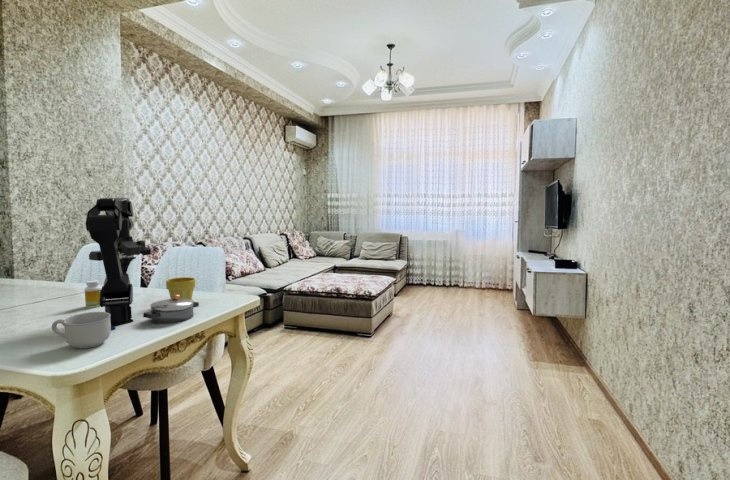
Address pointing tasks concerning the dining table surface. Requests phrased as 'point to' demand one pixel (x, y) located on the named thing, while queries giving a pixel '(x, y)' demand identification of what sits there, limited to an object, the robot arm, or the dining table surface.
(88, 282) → the supplement bottle
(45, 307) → the dining table surface
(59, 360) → the dining table surface
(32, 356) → the dining table surface
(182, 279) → the plant pot
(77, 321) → the teacup
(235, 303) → the dining table surface
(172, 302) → the cooker lid
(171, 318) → the cooker pot
